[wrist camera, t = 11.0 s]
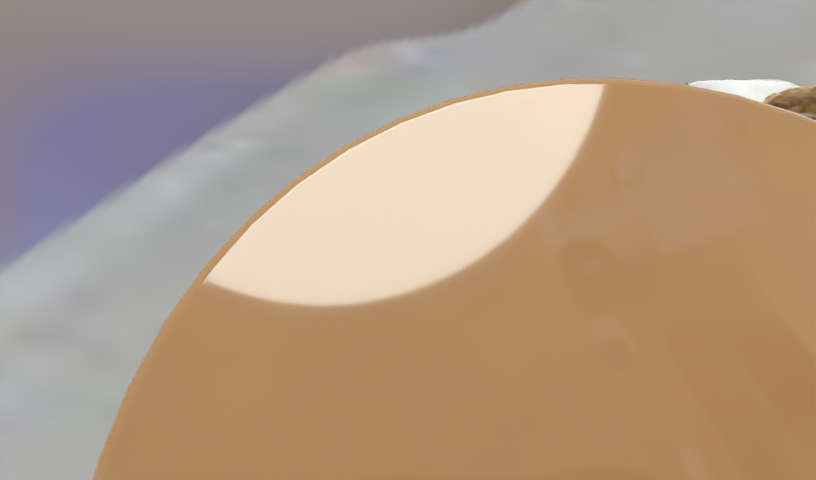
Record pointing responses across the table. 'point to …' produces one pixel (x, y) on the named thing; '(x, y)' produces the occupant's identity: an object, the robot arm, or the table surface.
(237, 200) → the table surface
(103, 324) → the table surface
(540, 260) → the canister
